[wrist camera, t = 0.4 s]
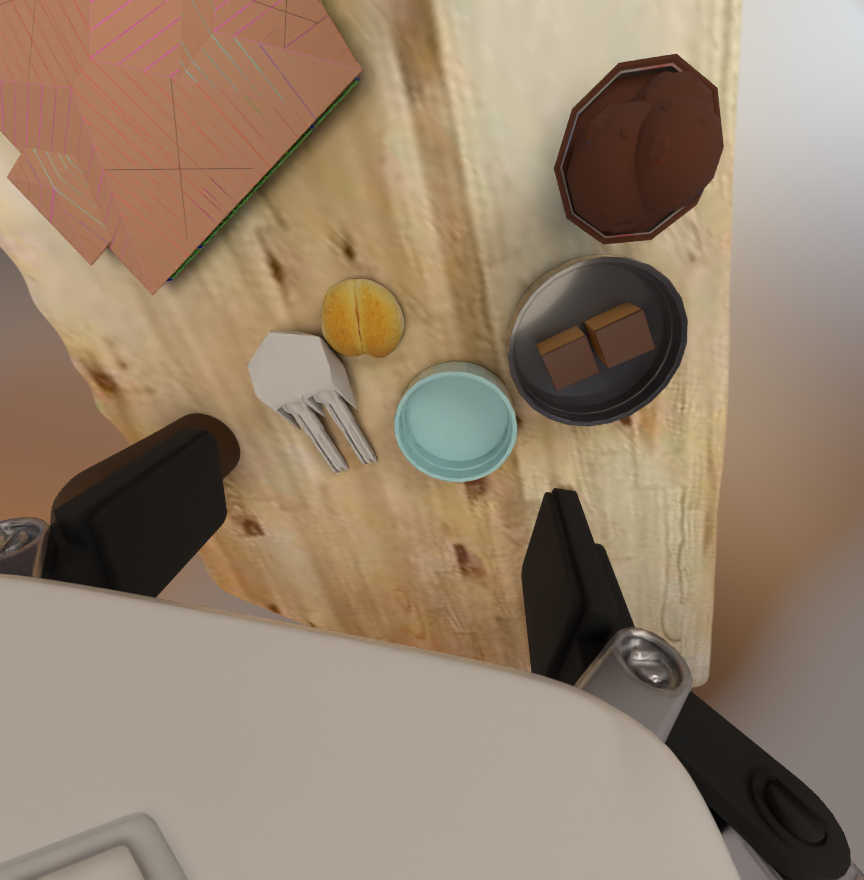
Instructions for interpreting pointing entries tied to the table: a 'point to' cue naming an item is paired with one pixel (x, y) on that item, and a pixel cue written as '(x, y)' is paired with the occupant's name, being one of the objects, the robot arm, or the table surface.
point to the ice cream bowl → (639, 149)
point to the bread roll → (361, 318)
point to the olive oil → (104, 468)
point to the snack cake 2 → (620, 334)
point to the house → (159, 113)
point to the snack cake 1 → (568, 357)
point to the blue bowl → (456, 422)
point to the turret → (308, 390)
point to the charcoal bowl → (571, 304)
